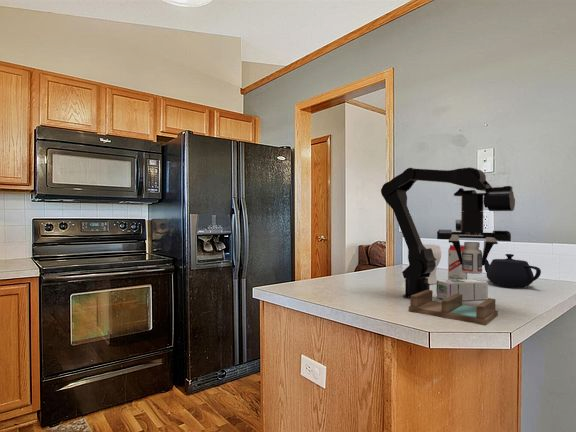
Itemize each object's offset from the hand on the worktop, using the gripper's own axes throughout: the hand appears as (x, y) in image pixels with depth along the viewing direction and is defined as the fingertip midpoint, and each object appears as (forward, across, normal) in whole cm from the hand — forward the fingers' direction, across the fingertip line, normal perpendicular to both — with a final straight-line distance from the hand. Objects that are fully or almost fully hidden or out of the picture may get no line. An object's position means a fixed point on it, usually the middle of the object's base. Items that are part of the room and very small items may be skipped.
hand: (471, 264), depth 104 cm
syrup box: (+9, -4, -14) cm, 17 cm away
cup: (+12, +14, -37) cm, 41 cm away
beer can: (+12, +3, -25) cm, 28 cm away
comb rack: (+12, +5, +11) cm, 17 cm away
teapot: (+12, -15, -46) cm, 49 cm away
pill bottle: (+2, 0, 0) cm, 3 cm away
